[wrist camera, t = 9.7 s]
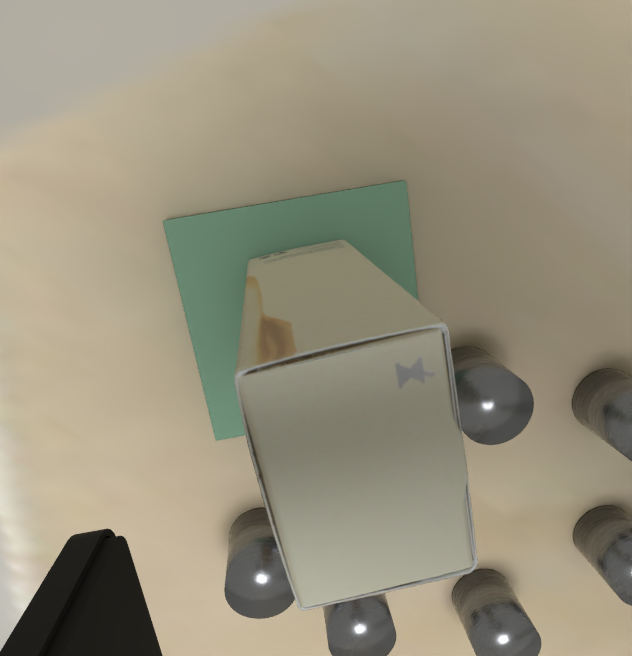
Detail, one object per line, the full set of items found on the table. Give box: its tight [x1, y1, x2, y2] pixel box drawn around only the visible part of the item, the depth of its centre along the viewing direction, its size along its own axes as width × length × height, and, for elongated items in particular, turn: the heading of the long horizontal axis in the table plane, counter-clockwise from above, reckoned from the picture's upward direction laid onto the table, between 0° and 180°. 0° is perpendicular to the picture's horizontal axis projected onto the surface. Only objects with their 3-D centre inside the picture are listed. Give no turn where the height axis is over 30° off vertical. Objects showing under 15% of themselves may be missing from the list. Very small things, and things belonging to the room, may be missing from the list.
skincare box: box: [234, 239, 478, 611], centre depth 16 cm, size 6×4×12 cm
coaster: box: [163, 181, 418, 441], centre depth 22 cm, size 10×10×1 cm
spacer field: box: [225, 347, 632, 656], centre depth 24 cm, size 25×16×4 cm, turn 99°
